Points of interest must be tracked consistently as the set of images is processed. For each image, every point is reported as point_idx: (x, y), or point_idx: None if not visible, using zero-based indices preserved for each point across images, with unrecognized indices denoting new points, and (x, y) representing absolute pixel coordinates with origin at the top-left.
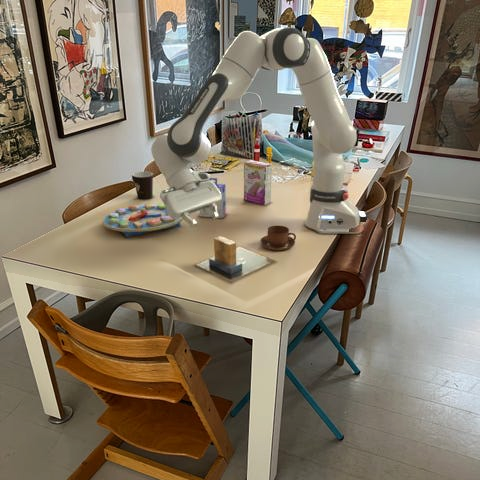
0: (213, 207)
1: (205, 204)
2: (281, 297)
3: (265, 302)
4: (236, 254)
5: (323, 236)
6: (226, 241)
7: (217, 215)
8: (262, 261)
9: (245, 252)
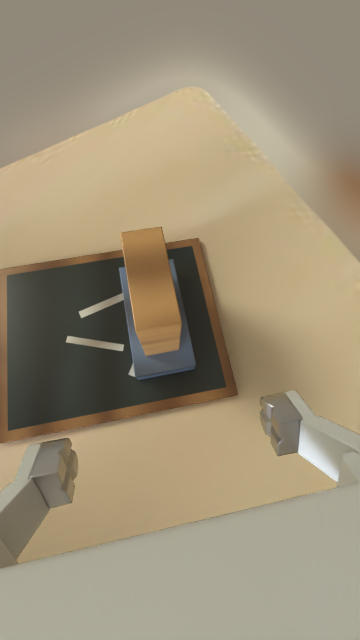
0: (2, 542)
1: (99, 546)
2: (134, 130)
3: (179, 133)
4: (62, 382)
5: None
6: (151, 261)
7: (44, 445)
8: (31, 286)
9: (23, 378)
